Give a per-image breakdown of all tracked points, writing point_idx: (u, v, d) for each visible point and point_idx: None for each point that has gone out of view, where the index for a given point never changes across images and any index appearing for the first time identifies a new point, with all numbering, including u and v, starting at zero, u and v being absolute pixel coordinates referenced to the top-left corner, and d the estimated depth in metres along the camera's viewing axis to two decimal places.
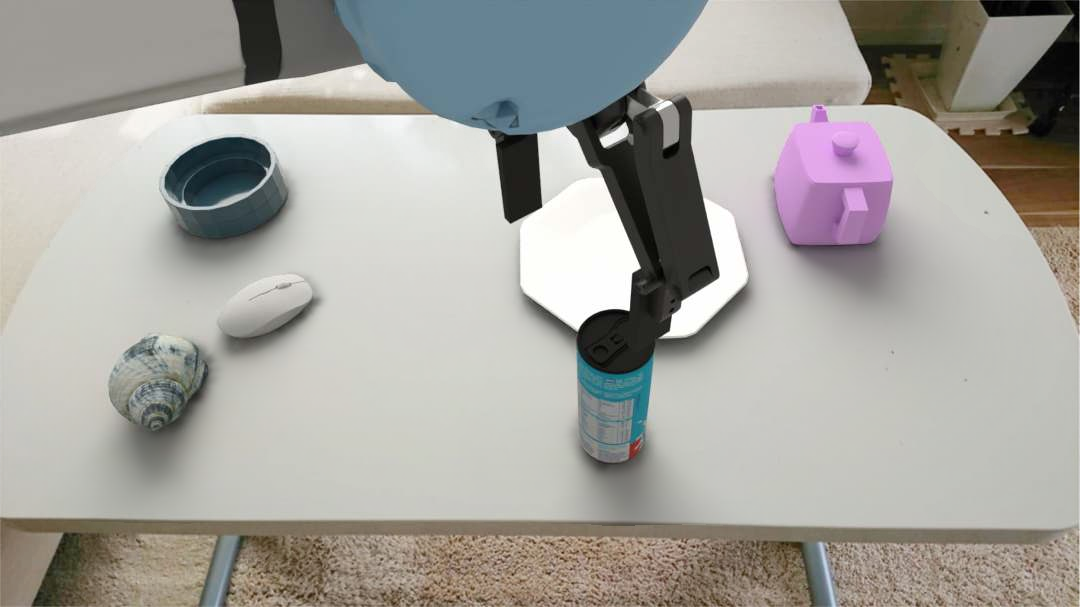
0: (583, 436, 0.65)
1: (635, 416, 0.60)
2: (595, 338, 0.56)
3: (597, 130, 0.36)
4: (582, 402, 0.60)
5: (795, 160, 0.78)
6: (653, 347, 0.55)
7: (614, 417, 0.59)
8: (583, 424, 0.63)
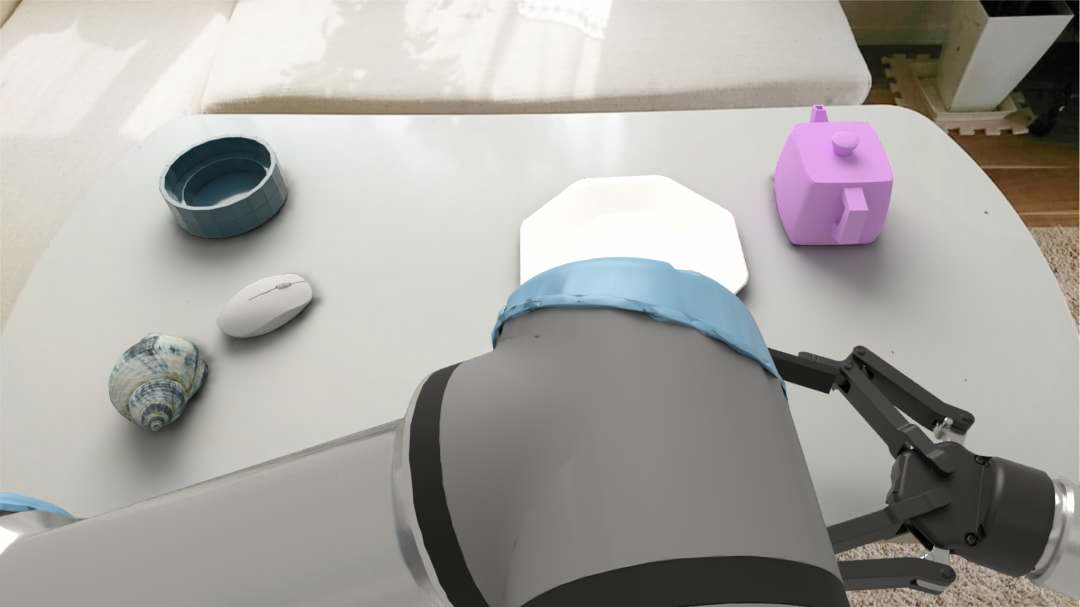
0: None
1: None
2: None
3: None
4: None
5: (795, 160, 0.78)
6: None
7: None
8: None
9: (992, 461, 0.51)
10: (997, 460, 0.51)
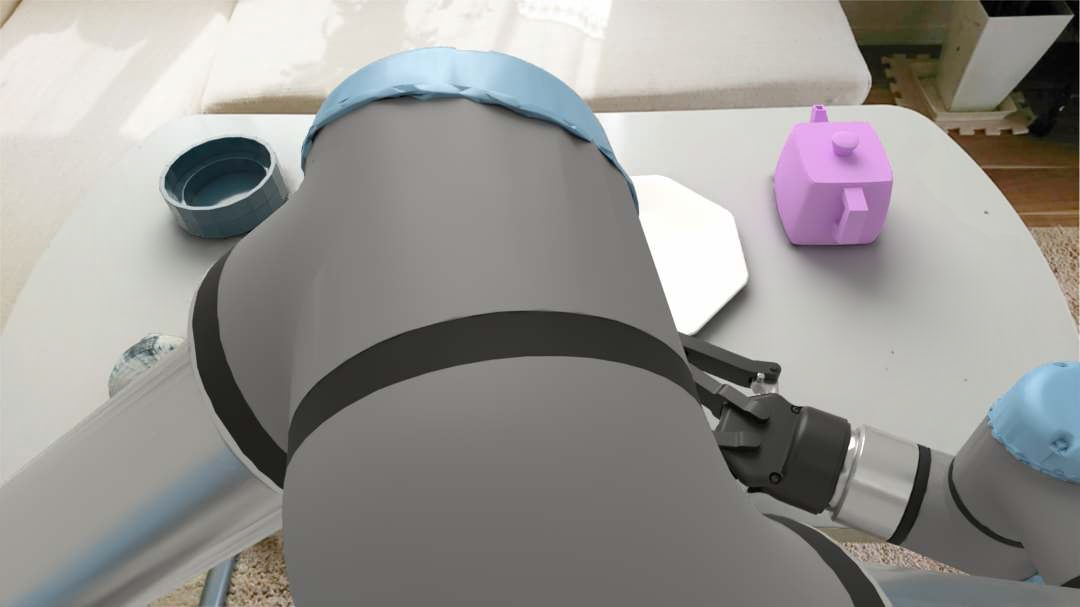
0: None
1: None
2: None
3: (727, 456, 0.56)
4: None
5: (795, 160, 0.78)
6: None
7: None
8: None
9: (802, 409, 0.56)
10: (805, 408, 0.56)
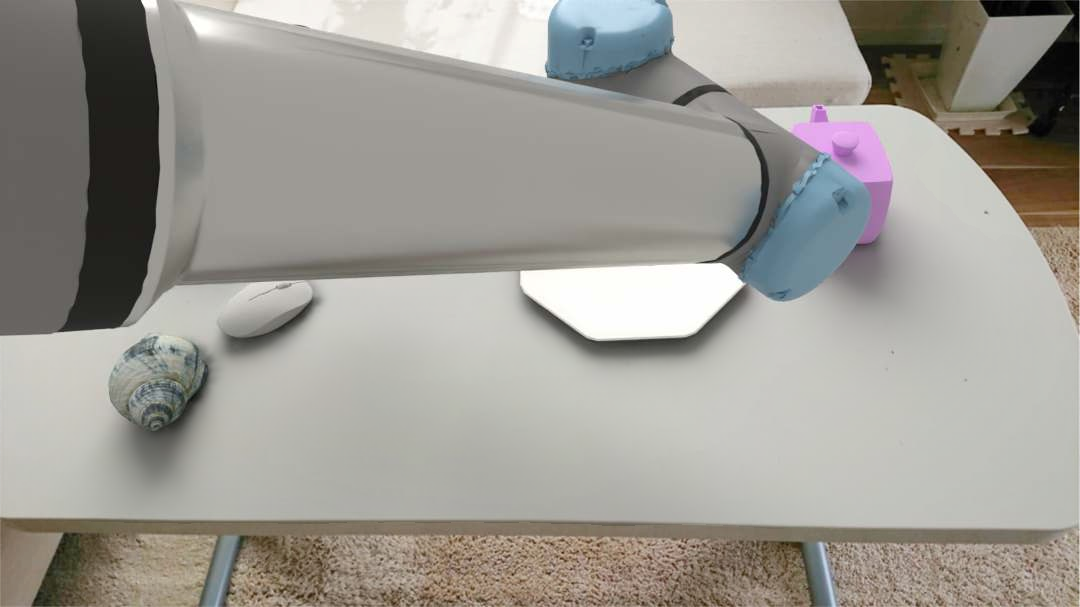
0: None
1: None
2: None
3: None
4: None
5: None
6: None
7: None
8: None
9: None
10: None
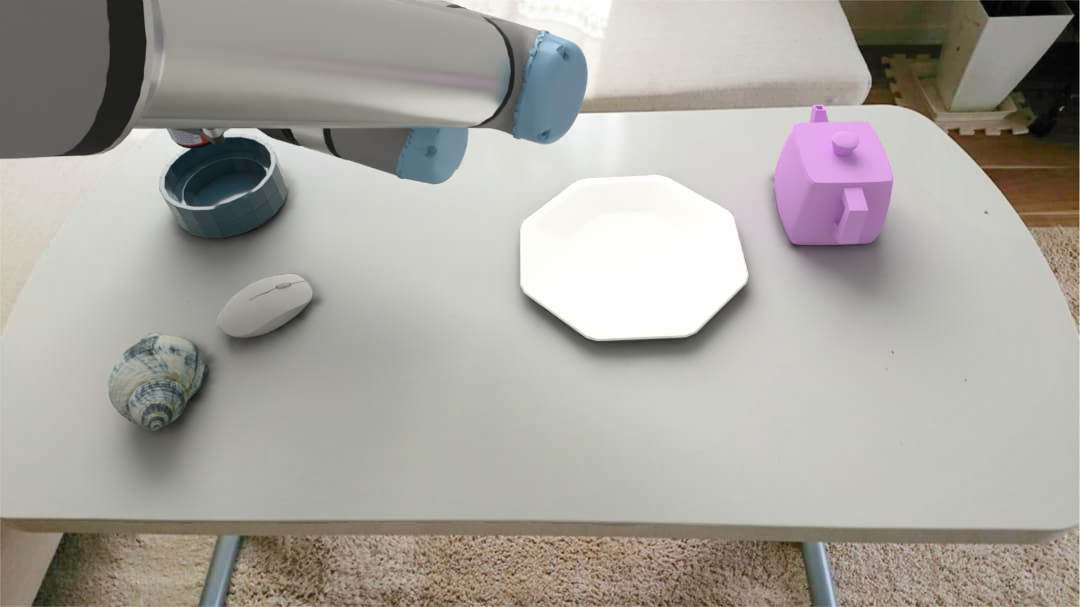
0: None
1: None
2: None
3: None
4: None
5: (795, 160, 0.78)
6: None
7: None
8: None
9: None
10: None
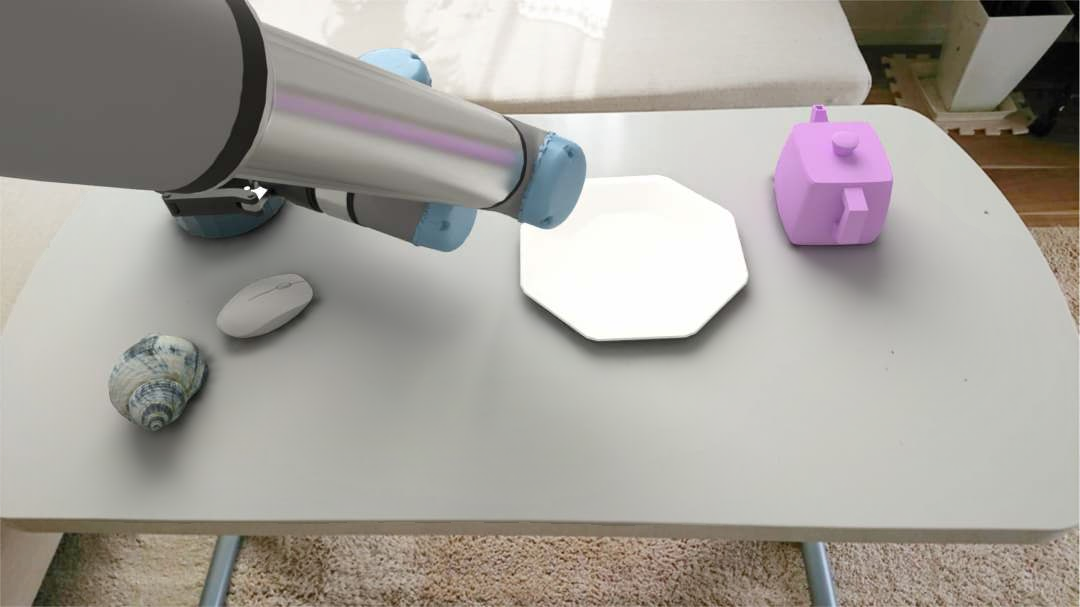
0: None
1: None
2: None
3: None
4: None
5: (795, 160, 0.78)
6: None
7: None
8: None
9: None
10: None
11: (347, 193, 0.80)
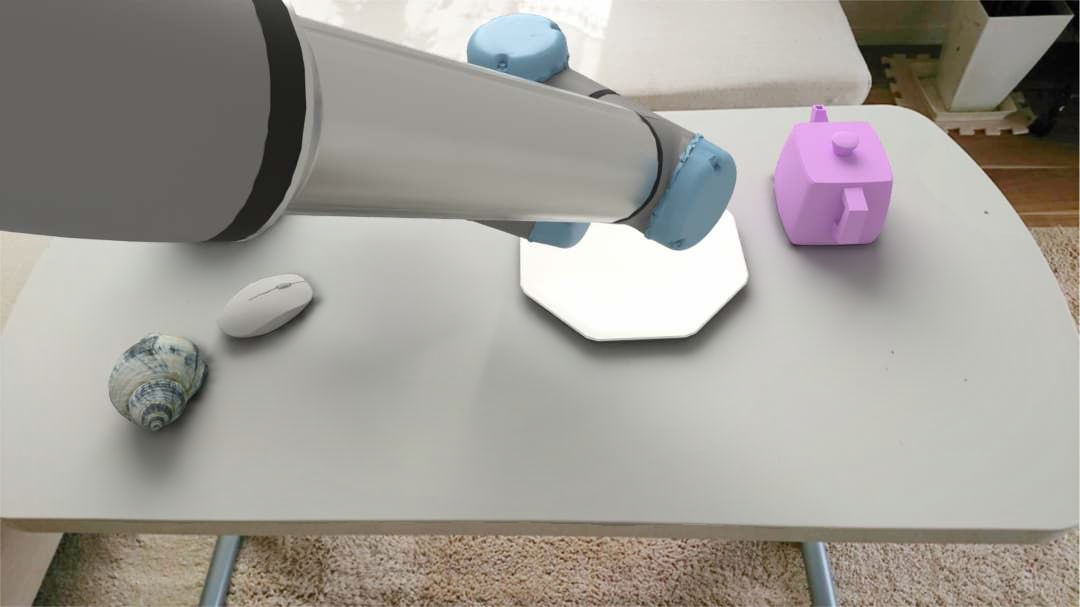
0: None
1: None
2: None
3: None
4: None
5: (795, 160, 0.78)
6: None
7: None
8: None
9: None
10: None
11: None
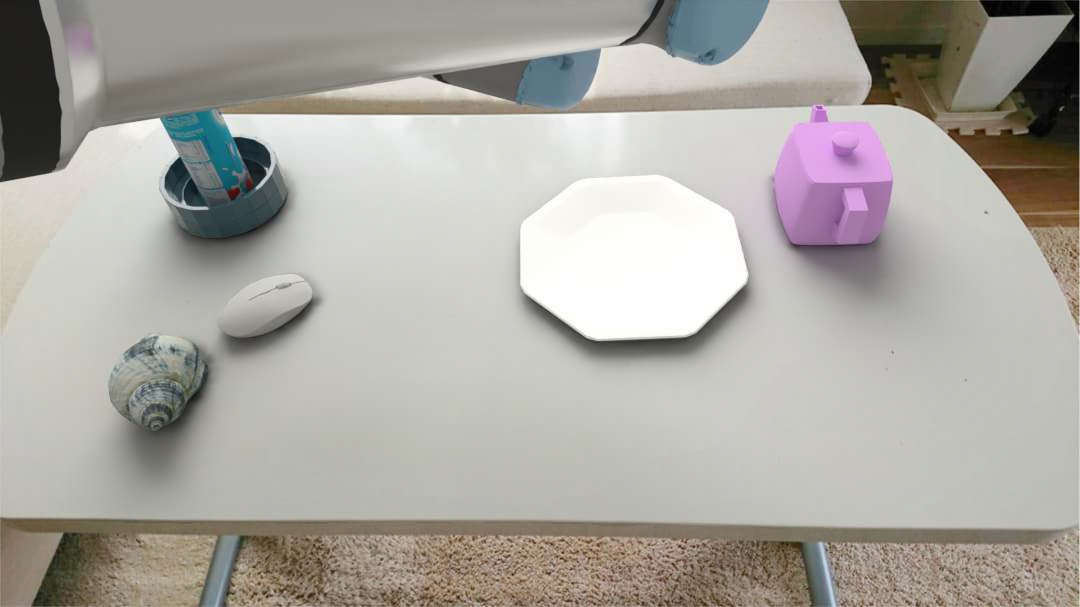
0: None
1: (213, 159, 0.82)
2: None
3: None
4: None
5: (795, 160, 0.78)
6: None
7: (194, 158, 0.81)
8: None
9: None
10: None
11: None
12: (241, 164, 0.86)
